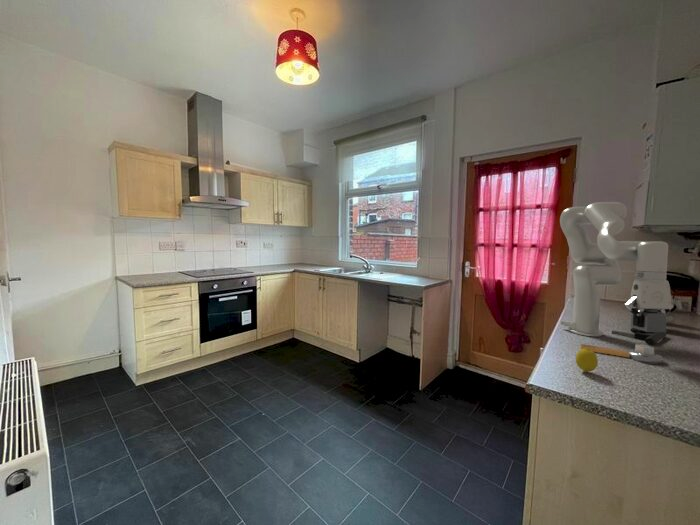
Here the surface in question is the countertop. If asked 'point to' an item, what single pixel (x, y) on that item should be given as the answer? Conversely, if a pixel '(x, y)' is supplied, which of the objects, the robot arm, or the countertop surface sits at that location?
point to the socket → (652, 321)
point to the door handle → (643, 335)
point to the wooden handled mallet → (630, 353)
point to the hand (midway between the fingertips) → (647, 326)
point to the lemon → (586, 360)
